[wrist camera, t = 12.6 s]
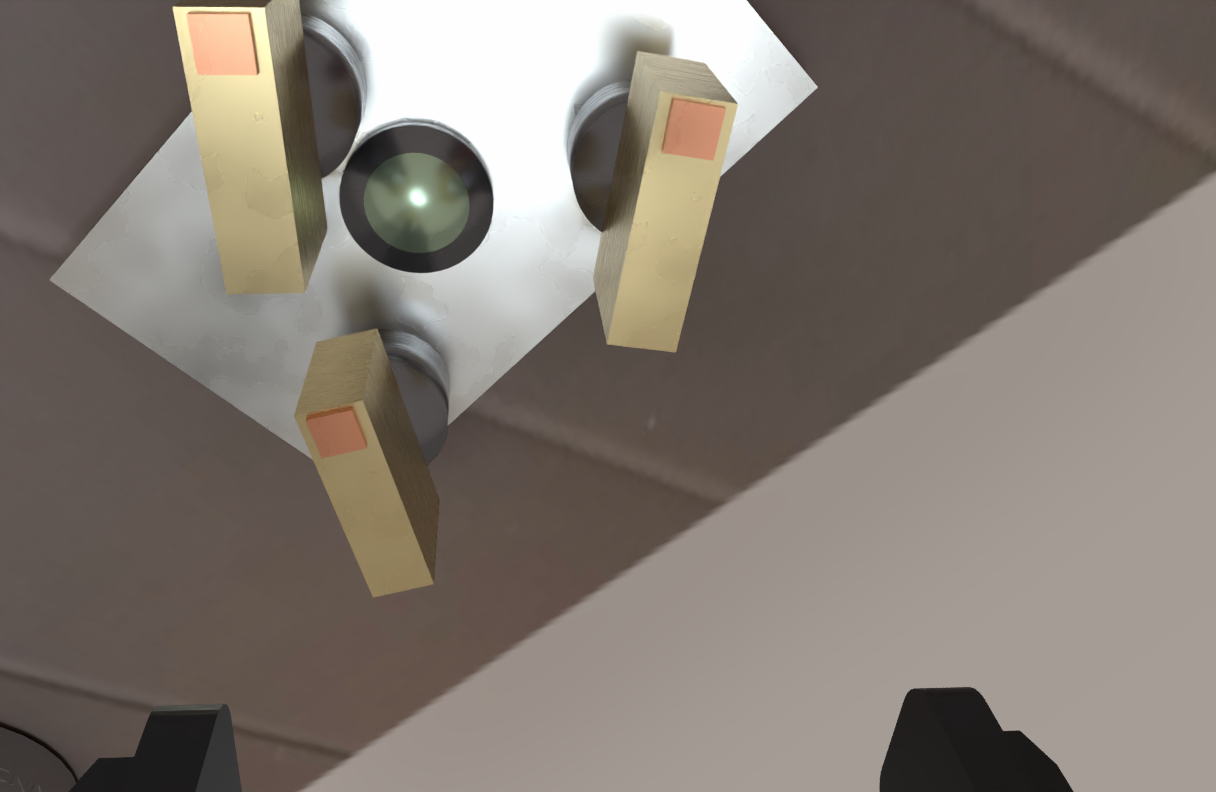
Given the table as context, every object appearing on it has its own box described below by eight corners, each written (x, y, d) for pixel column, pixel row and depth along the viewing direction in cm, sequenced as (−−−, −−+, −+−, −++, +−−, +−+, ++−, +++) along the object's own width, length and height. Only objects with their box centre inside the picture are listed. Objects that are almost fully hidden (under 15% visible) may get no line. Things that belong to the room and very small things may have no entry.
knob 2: (473, 449, 34) (470, 580, 28) (360, 474, 34) (334, 610, 29) (419, 283, 31) (404, 395, 25) (293, 311, 31) (249, 429, 25)
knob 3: (675, 257, 31) (718, 360, 26) (550, 239, 30) (565, 343, 25) (725, 48, 28) (786, 114, 22) (586, 23, 27) (612, 84, 22)
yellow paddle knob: (377, 197, 29) (351, 295, 24) (237, 198, 29) (176, 299, 23) (354, -39, 26) (318, 9, 20) (195, -41, 26) (112, 7, 20)
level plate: (372, 473, 36) (366, 510, 34) (67, 259, 31) (40, 290, 29) (803, 74, 30) (824, 93, 28) (517, -273, 25) (520, -278, 23)
